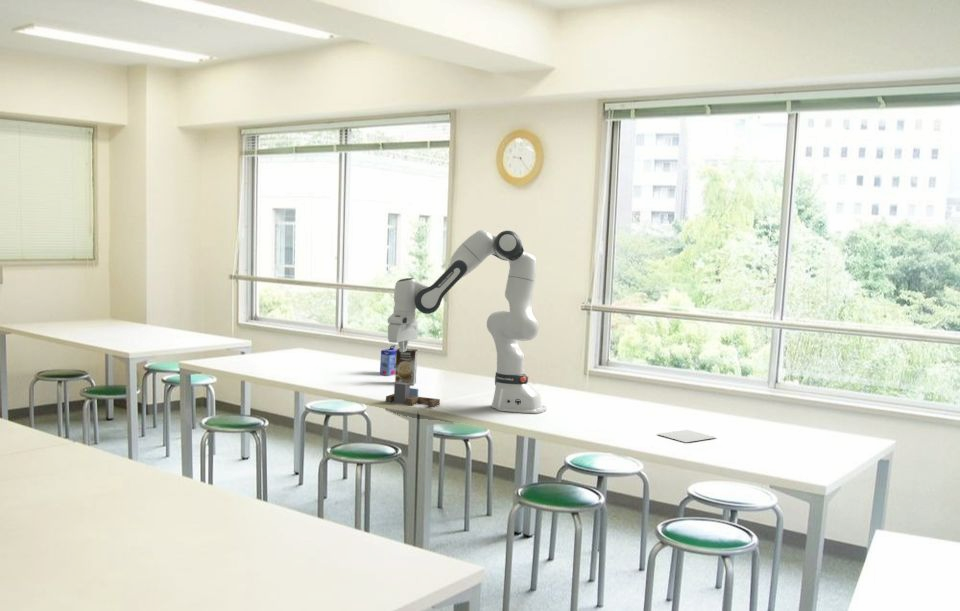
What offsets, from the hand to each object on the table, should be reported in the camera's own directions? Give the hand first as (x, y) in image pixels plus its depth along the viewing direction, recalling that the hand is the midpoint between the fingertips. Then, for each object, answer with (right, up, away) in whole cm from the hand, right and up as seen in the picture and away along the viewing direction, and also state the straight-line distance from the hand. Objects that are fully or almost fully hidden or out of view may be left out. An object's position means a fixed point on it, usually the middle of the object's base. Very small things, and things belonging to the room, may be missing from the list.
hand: (402, 351), depth 352 cm
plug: (-1, -21, +2) cm, 21 cm away
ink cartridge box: (-13, -15, +72) cm, 75 cm away
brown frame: (+5, -21, +2) cm, 22 cm away
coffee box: (-3, -18, +47) cm, 50 cm away
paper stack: (+106, -30, -46) cm, 119 cm away
